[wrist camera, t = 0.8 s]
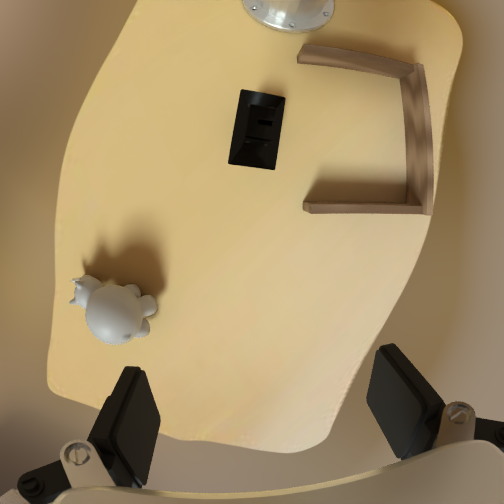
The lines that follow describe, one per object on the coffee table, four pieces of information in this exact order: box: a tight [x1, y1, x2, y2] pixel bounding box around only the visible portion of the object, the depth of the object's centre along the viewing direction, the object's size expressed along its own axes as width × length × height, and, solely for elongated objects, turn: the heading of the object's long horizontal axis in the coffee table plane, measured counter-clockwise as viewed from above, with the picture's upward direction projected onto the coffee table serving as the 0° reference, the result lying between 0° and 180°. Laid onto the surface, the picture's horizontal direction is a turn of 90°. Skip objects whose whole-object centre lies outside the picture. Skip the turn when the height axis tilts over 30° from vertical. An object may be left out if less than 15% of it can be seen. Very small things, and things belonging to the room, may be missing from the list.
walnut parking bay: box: [297, 44, 434, 215], centre depth 31 cm, size 20×16×5 cm
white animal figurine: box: [69, 275, 158, 345], centre depth 32 cm, size 7×12×8 cm, turn 62°
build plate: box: [228, 89, 285, 170], centre depth 31 cm, size 12×7×5 cm, turn 171°
